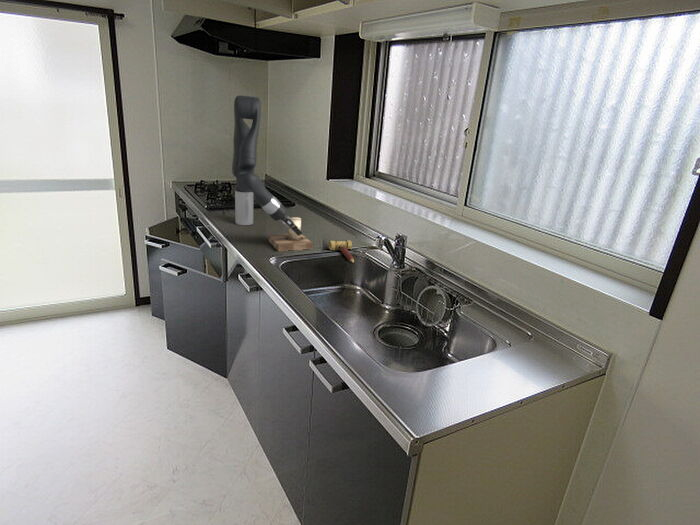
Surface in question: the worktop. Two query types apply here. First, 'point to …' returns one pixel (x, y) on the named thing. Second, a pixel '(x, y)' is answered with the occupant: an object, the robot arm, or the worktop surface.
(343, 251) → the gavel
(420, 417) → the worktop surface
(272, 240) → the board
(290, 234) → the cream upside-down bottle
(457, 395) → the worktop surface
